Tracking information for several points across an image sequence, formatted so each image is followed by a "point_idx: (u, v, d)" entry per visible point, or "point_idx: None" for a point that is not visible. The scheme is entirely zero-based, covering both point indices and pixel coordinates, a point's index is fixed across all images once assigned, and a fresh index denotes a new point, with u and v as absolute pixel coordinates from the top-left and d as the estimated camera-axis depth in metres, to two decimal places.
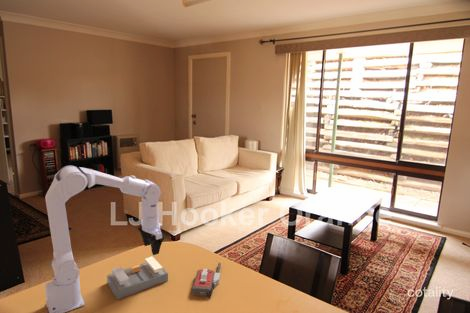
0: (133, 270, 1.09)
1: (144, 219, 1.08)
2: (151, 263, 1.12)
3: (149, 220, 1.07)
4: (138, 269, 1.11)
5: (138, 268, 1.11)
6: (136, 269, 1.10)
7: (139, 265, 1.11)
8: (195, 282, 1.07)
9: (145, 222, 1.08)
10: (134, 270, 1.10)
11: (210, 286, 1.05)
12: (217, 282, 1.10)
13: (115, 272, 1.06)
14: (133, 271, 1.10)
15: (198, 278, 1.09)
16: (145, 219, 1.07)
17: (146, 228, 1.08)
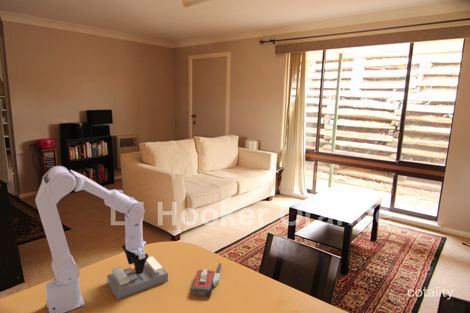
0: (133, 270, 1.09)
1: (127, 238, 1.06)
2: (151, 263, 1.12)
3: (132, 239, 1.05)
4: None
5: None
6: None
7: None
8: (195, 282, 1.07)
9: (128, 241, 1.06)
10: (134, 270, 1.10)
11: (209, 286, 1.05)
12: (217, 282, 1.09)
13: (115, 272, 1.06)
14: (133, 271, 1.10)
15: (198, 278, 1.09)
16: (128, 238, 1.05)
17: (129, 247, 1.06)
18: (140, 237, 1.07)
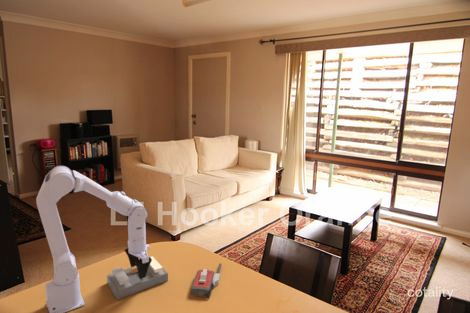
0: (133, 270, 1.09)
1: (130, 242, 1.03)
2: (151, 263, 1.12)
3: (135, 243, 1.03)
4: None
5: None
6: (137, 270, 1.10)
7: None
8: (194, 282, 1.07)
9: (131, 245, 1.03)
10: (134, 270, 1.10)
11: (209, 287, 1.05)
12: (216, 283, 1.09)
13: (115, 272, 1.06)
14: (133, 271, 1.10)
15: (197, 278, 1.09)
16: (131, 242, 1.03)
17: (132, 251, 1.04)
18: (143, 240, 1.05)
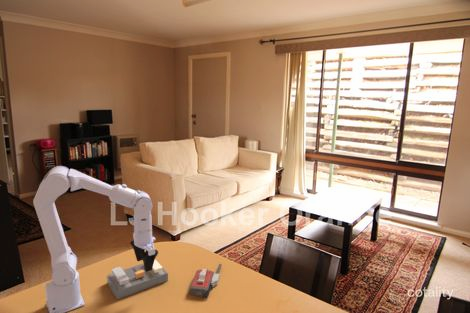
0: (137, 276, 1.06)
1: (136, 233, 1.00)
2: None
3: (141, 234, 1.00)
4: (142, 274, 1.08)
5: (142, 273, 1.07)
6: (141, 275, 1.07)
7: (143, 270, 1.08)
8: (193, 282, 1.07)
9: (137, 237, 1.00)
10: (138, 275, 1.07)
11: (207, 287, 1.05)
12: (215, 283, 1.09)
13: (115, 272, 1.06)
14: (137, 276, 1.06)
15: (196, 278, 1.09)
16: (137, 233, 1.00)
17: (138, 243, 1.01)
18: (149, 232, 1.02)
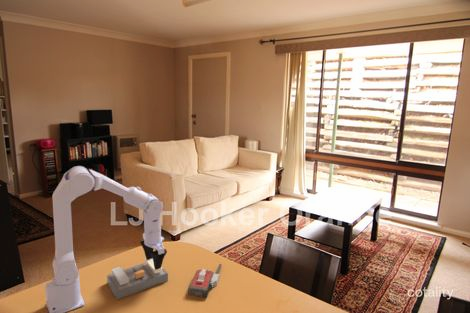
0: (137, 276, 1.06)
1: (146, 234, 1.08)
2: (151, 264, 1.12)
3: (151, 235, 1.07)
4: (142, 274, 1.08)
5: (142, 273, 1.07)
6: (141, 275, 1.07)
7: (143, 270, 1.08)
8: (192, 282, 1.07)
9: (147, 237, 1.08)
10: (138, 275, 1.07)
11: (206, 287, 1.04)
12: (215, 283, 1.09)
13: (115, 272, 1.06)
14: (137, 276, 1.06)
15: (196, 278, 1.09)
16: (147, 234, 1.07)
17: (148, 243, 1.08)
18: (159, 233, 1.09)
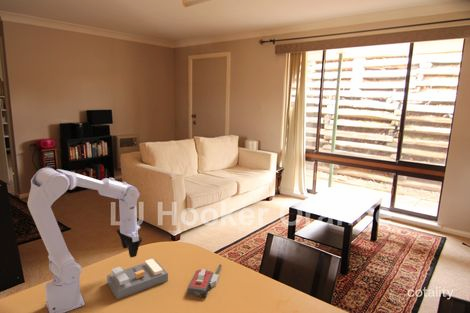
0: (137, 276, 1.06)
1: (121, 221, 1.07)
2: (151, 265, 1.12)
3: (126, 222, 1.07)
4: (142, 274, 1.08)
5: (142, 273, 1.07)
6: (141, 275, 1.07)
7: (143, 270, 1.08)
8: (191, 282, 1.07)
9: (122, 224, 1.07)
10: (138, 275, 1.07)
11: (205, 287, 1.04)
12: (214, 283, 1.09)
13: (115, 272, 1.06)
14: (137, 276, 1.06)
15: (195, 278, 1.09)
16: (122, 221, 1.07)
17: (123, 230, 1.08)
18: (134, 221, 1.09)
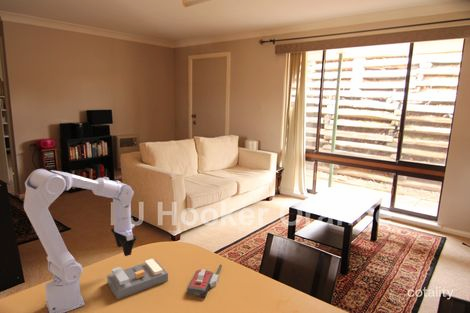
0: (137, 276, 1.06)
1: (115, 220, 1.08)
2: (151, 265, 1.12)
3: (120, 221, 1.07)
4: (142, 274, 1.08)
5: (142, 273, 1.07)
6: (141, 275, 1.07)
7: (143, 270, 1.08)
8: (191, 282, 1.07)
9: (116, 223, 1.08)
10: (138, 275, 1.07)
11: (205, 287, 1.04)
12: (214, 284, 1.09)
13: (115, 272, 1.06)
14: (137, 276, 1.06)
15: (195, 278, 1.09)
16: (116, 220, 1.07)
17: (118, 229, 1.08)
18: (128, 219, 1.09)
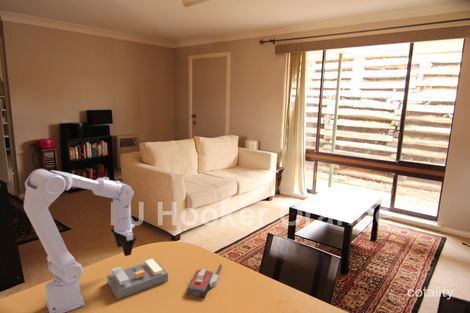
0: (137, 276, 1.06)
1: (115, 220, 1.08)
2: (151, 265, 1.12)
3: (120, 221, 1.07)
4: (142, 274, 1.08)
5: (142, 273, 1.07)
6: (141, 275, 1.07)
7: (143, 270, 1.08)
8: (191, 282, 1.07)
9: (116, 223, 1.08)
10: (138, 275, 1.07)
11: (205, 287, 1.04)
12: (214, 284, 1.09)
13: (115, 272, 1.06)
14: (137, 276, 1.06)
15: (195, 278, 1.09)
16: (116, 220, 1.07)
17: (118, 229, 1.08)
18: (128, 219, 1.09)
